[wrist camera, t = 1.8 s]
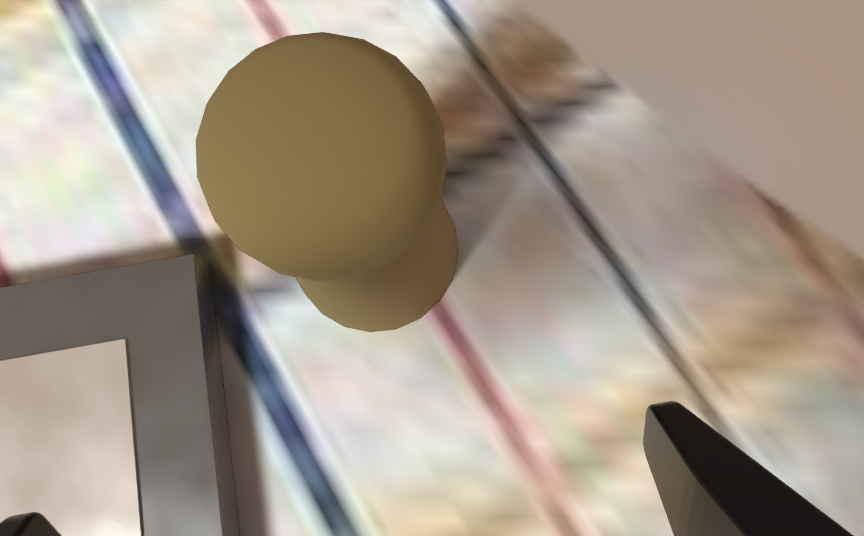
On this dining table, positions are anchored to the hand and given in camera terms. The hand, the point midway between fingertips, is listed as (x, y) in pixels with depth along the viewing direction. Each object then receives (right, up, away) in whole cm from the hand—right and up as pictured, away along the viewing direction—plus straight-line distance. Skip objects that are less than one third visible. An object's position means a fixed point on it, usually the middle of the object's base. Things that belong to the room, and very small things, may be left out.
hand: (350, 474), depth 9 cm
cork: (-1, +4, +13) cm, 14 cm away
